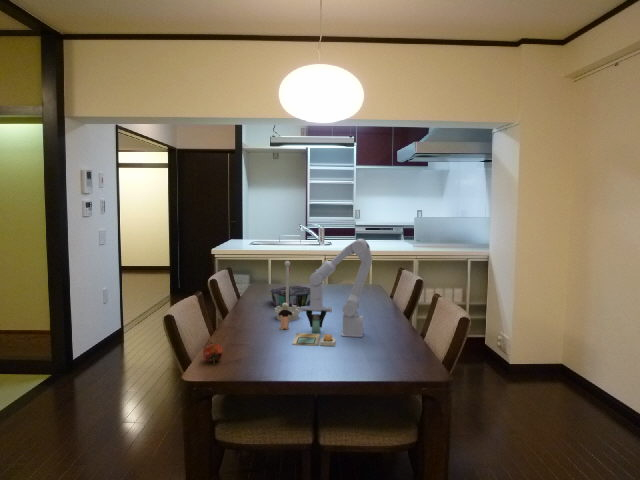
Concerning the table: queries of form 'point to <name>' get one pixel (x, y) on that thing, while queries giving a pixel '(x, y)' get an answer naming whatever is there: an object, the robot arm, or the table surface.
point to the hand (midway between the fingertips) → (316, 326)
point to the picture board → (306, 339)
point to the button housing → (327, 342)
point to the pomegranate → (213, 352)
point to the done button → (328, 337)
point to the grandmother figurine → (285, 316)
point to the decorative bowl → (291, 296)
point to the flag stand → (293, 309)
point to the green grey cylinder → (316, 323)
